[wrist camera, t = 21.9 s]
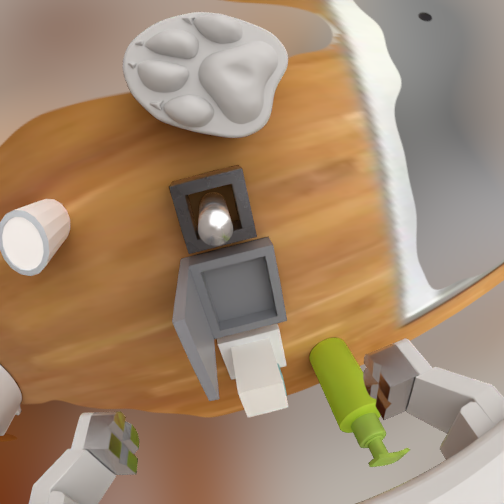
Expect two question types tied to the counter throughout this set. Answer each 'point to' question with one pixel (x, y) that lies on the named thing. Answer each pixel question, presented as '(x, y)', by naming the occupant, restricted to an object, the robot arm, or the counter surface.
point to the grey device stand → (225, 301)
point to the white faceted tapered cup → (33, 235)
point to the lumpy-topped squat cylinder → (206, 73)
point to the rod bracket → (206, 181)
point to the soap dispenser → (351, 398)
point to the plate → (248, 337)
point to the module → (258, 378)
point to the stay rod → (214, 220)
